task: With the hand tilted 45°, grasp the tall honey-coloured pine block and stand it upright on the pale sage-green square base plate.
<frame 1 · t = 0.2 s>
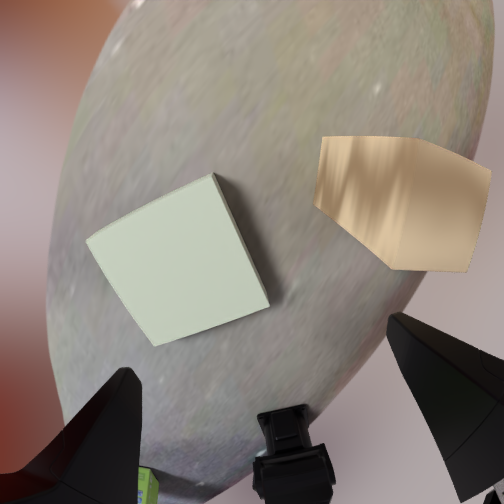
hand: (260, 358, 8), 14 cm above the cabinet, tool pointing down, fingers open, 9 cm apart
base plate: (180, 261, 22), on the cabinet
pine block: (349, 175, 21), on the cabinet
toothbrush box: (117, 466, 39), on the cabinet
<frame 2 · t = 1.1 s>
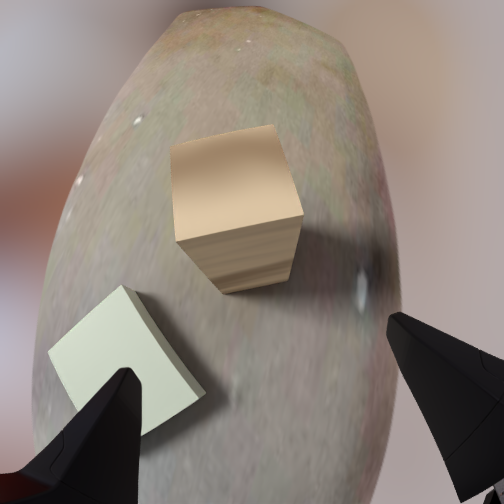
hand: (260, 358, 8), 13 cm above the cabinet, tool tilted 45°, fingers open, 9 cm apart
base plate: (123, 374, 21), on the cabinet
pine block: (249, 256, 24), on the cabinet
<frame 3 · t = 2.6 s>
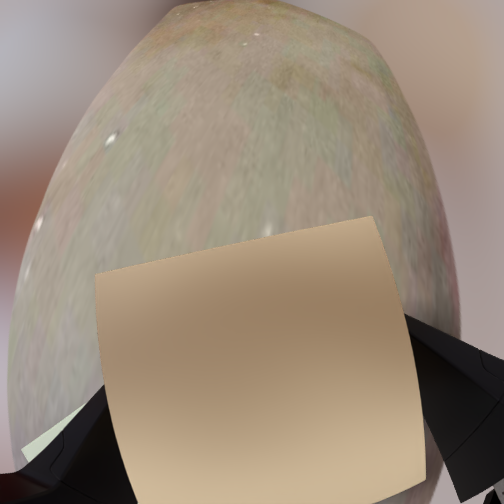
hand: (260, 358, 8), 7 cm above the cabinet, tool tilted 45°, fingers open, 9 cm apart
base plate: (111, 484, 12), on the cabinet
pine block: (268, 364, 15), on the cabinet
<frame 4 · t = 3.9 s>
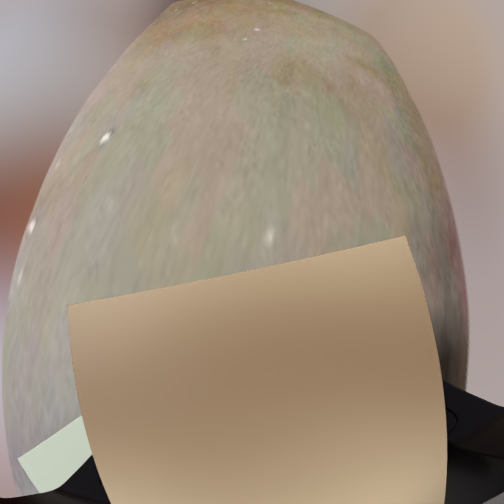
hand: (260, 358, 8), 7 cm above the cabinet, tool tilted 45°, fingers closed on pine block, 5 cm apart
base plate: (109, 495, 11), on the cabinet
pine block: (270, 376, 14), on the cabinet, touching gripper
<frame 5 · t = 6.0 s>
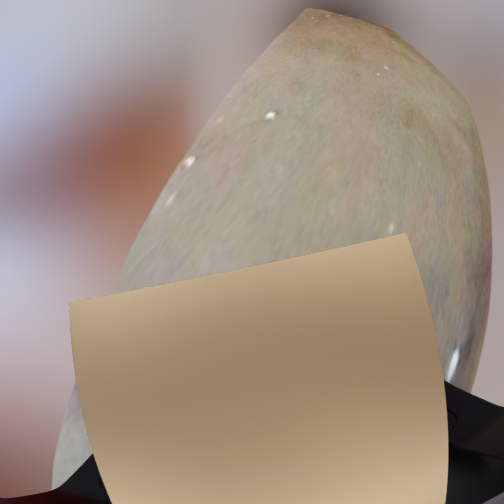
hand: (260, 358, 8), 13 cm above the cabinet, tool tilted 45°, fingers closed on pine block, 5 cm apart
pine block: (270, 376, 14), point 7 cm above the cabinet, touching gripper
when the fingers open (10 cm above the cabinet, at t = 8.1 s): pine block stays where it is, resting on base plate.
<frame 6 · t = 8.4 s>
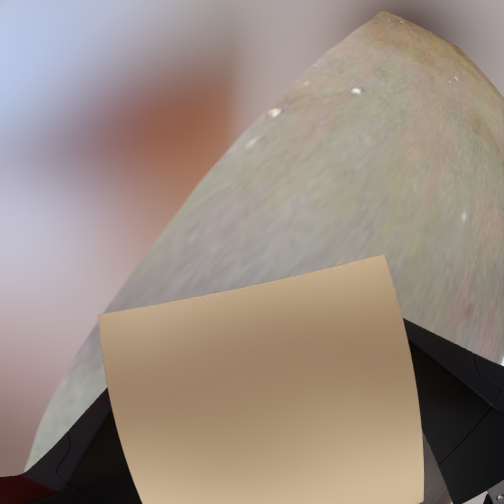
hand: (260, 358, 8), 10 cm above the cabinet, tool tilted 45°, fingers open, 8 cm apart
pine block: (270, 374, 15), point 2 cm above the cabinet, touching base plate
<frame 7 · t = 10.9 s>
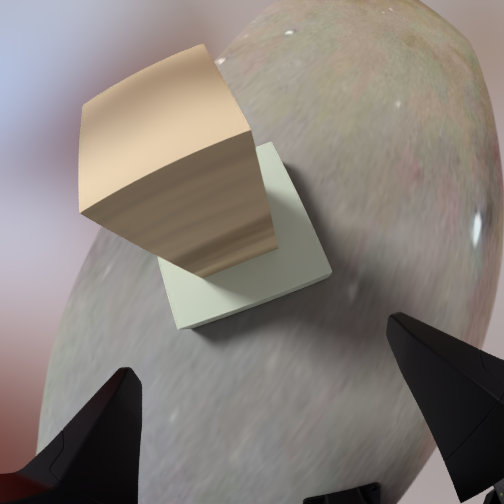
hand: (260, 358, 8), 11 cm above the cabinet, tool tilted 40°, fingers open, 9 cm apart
base plate: (233, 238, 22), on the cabinet
pine block: (226, 227, 19), point 2 cm above the cabinet, touching base plate
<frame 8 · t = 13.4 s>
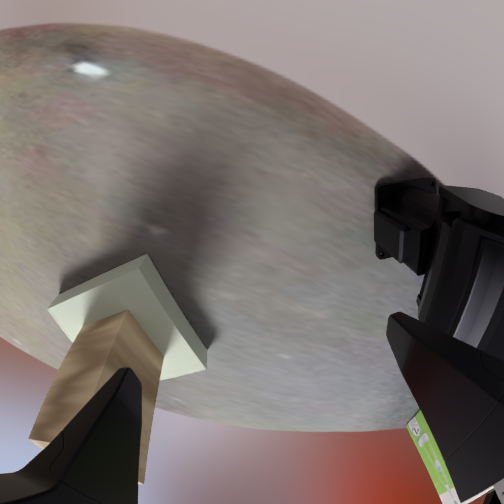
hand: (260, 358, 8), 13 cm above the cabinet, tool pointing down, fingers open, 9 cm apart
base plate: (129, 324, 23), on the cabinet
pine block: (122, 342, 21), point 2 cm above the cabinet, touching base plate
toothbrush box: (442, 393, 37), on the cabinet
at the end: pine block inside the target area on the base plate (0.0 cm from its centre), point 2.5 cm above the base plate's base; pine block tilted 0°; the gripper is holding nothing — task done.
